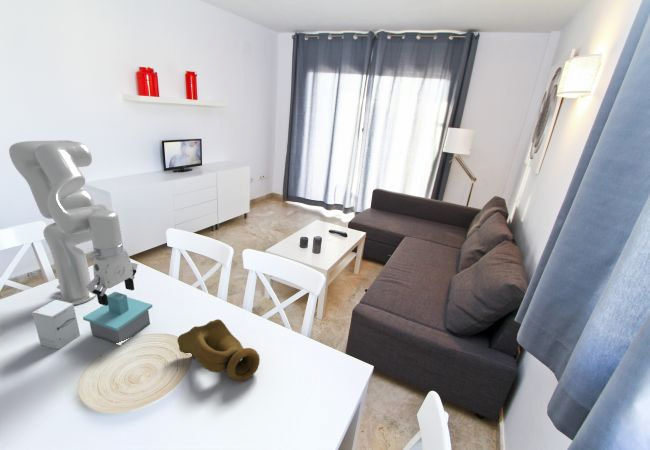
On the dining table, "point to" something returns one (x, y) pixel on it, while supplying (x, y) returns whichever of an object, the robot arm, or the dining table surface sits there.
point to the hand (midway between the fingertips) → (117, 296)
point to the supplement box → (56, 324)
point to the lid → (117, 311)
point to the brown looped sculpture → (219, 350)
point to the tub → (124, 332)
